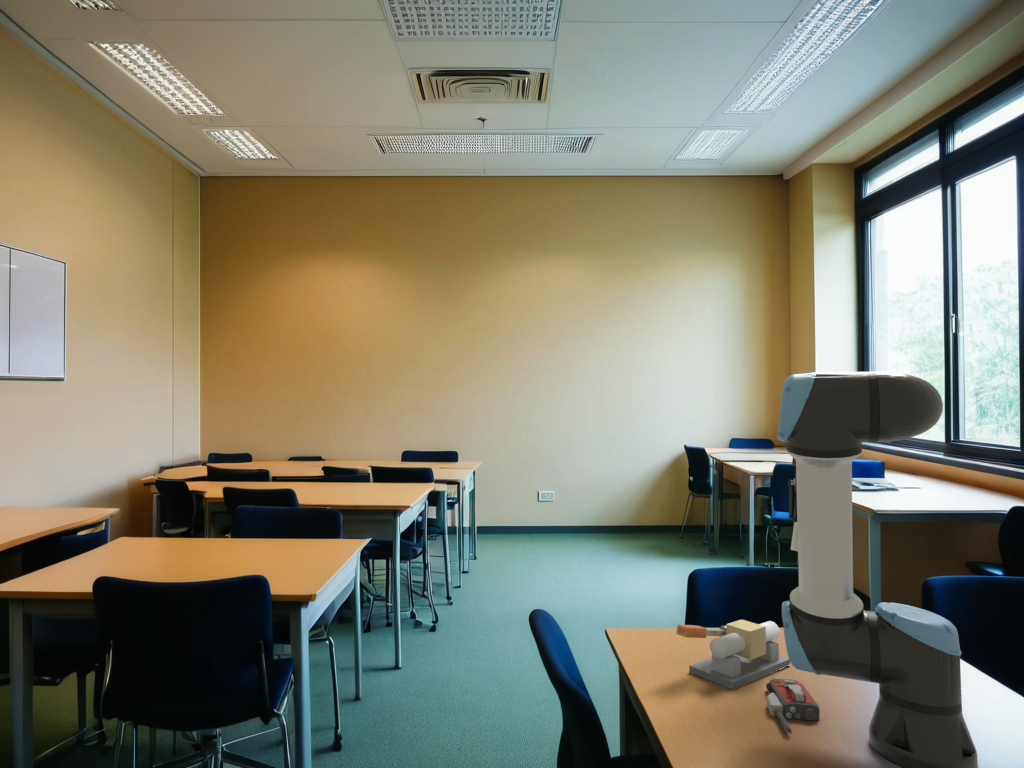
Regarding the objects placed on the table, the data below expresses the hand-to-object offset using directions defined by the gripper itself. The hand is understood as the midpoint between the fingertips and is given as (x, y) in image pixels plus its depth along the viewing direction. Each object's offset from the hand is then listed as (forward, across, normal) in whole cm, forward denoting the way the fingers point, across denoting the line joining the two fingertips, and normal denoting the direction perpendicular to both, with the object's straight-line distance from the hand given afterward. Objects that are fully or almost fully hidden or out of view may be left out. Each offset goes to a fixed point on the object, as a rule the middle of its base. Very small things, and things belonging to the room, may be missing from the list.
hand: (797, 551), depth 141 cm
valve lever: (+22, +5, +11) cm, 25 cm away
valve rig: (+28, +2, +8) cm, 30 cm away
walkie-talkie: (+31, -19, +7) cm, 37 cm away
